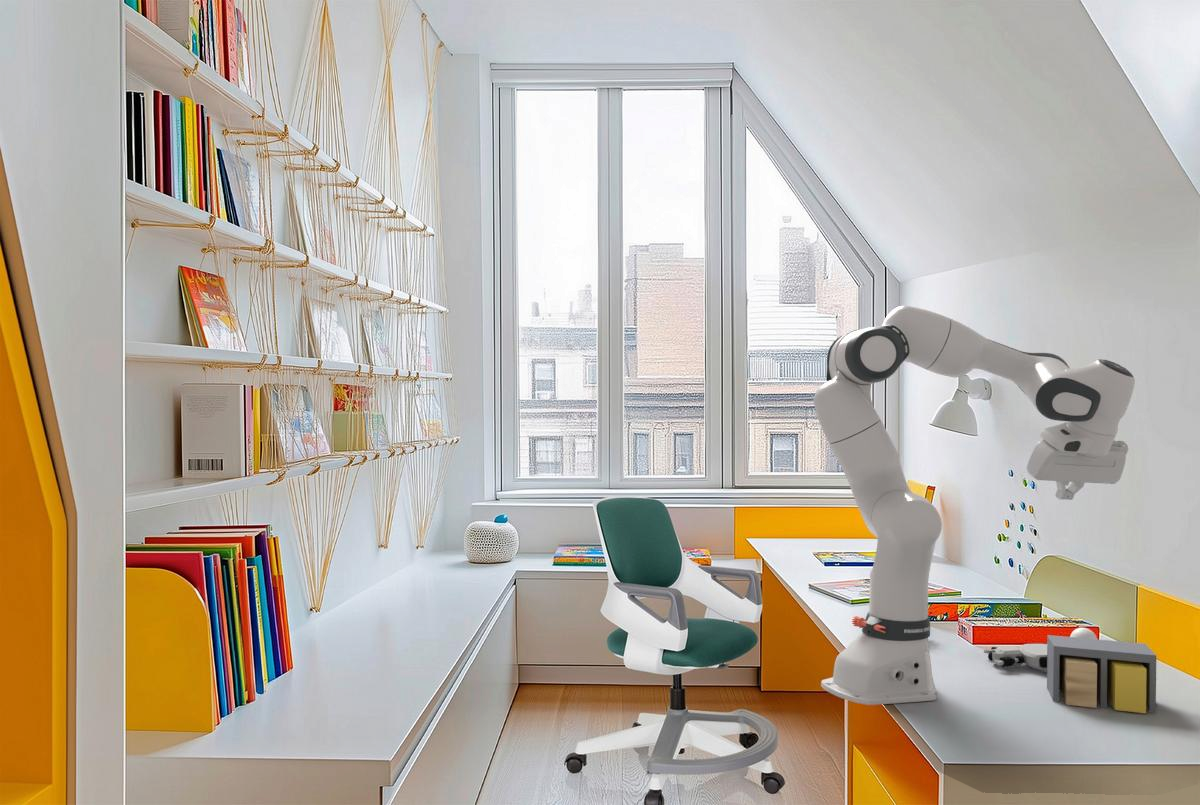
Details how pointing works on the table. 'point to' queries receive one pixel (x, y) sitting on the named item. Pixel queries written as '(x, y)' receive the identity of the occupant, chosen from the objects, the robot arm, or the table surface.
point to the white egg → (1083, 633)
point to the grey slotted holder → (1100, 663)
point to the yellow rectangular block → (1126, 685)
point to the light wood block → (1078, 680)
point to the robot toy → (1019, 656)
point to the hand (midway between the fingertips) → (1063, 498)
